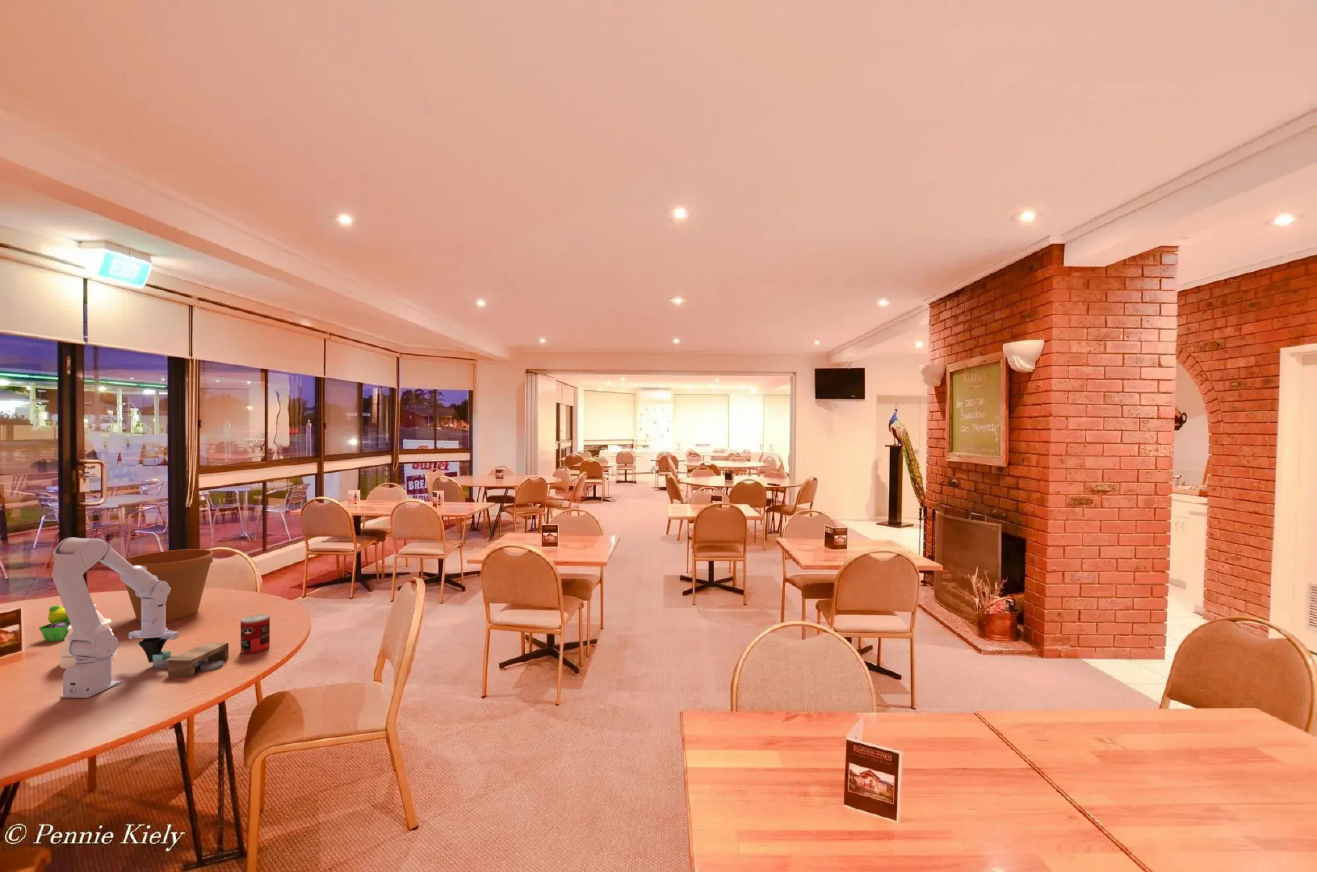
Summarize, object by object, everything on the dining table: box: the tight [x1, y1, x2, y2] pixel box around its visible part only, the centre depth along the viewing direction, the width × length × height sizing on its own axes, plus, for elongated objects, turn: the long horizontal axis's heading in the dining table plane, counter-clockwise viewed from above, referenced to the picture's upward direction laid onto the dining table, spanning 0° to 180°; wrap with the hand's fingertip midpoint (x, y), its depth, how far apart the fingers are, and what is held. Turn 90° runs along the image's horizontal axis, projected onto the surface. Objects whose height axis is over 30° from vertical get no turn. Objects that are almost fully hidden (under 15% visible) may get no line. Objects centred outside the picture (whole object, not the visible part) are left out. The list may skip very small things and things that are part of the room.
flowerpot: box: [124, 548, 214, 623], centre depth 222 cm, size 28×28×24 cm
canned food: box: [240, 613, 271, 655], centre depth 188 cm, size 8×8×11 cm
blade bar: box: [152, 650, 208, 670], centre depth 174 cm, size 3×15×4 cm, turn 88°
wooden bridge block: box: [167, 641, 230, 678], centre depth 174 cm, size 14×7×5 cm, turn 177°
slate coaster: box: [199, 659, 224, 672], centre depth 174 cm, size 6×6×1 cm
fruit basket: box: [38, 604, 71, 642], centre depth 199 cm, size 11×9×11 cm
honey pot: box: [59, 603, 118, 670], centre depth 179 cm, size 13×13×18 cm
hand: (153, 661), depth 175 cm, fingers closed
